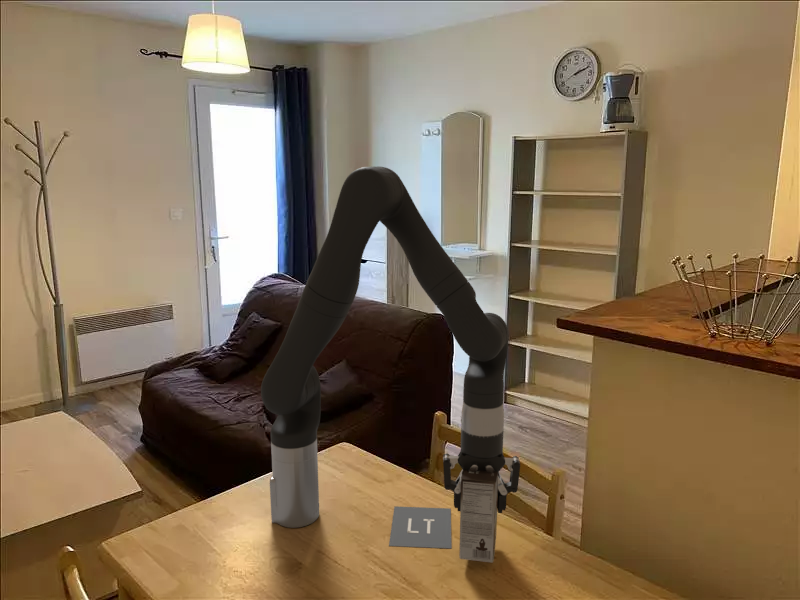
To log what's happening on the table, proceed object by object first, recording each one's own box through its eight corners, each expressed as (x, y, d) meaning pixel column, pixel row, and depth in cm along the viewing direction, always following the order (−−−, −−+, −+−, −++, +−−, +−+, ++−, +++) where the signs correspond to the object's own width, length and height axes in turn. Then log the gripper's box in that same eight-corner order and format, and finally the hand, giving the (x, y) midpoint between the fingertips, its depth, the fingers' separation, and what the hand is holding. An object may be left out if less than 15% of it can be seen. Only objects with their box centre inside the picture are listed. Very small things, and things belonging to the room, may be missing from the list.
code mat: (388, 547, 118) (388, 545, 118) (394, 507, 132) (394, 506, 131) (451, 549, 117) (451, 548, 117) (450, 509, 131) (450, 508, 131)
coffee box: (463, 530, 119) (465, 454, 116) (496, 534, 118) (499, 457, 115) (458, 559, 111) (460, 478, 107) (494, 564, 109) (497, 481, 106)
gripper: (441, 433, 106) (440, 519, 110) (525, 435, 105) (521, 523, 109) (441, 416, 113) (440, 497, 117) (520, 418, 112) (516, 500, 116)
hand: (479, 509), depth 113 cm, fingers closed on coffee box, 7 cm apart
